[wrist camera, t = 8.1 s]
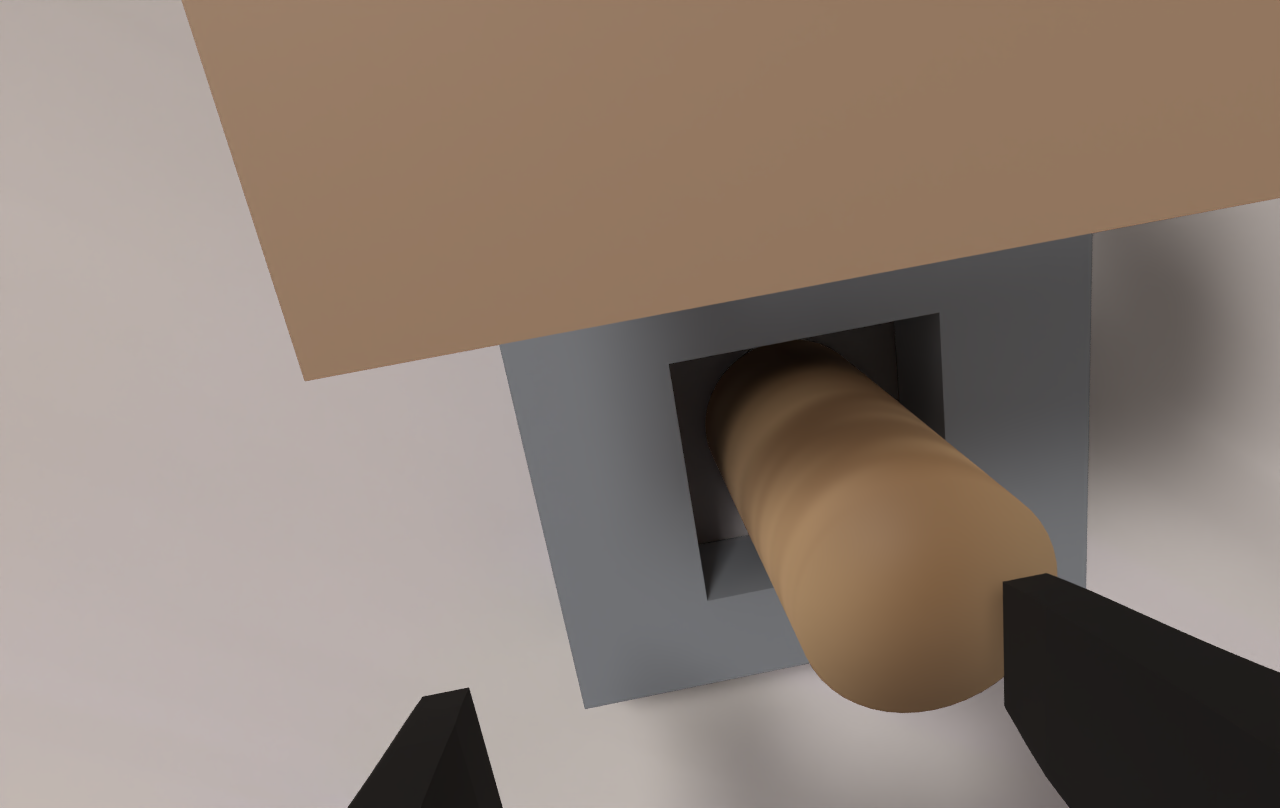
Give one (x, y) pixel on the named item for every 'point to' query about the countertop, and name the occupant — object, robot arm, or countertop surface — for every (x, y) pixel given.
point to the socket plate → (727, 234)
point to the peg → (870, 528)
